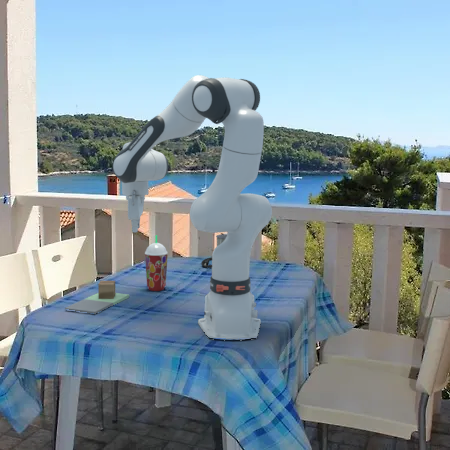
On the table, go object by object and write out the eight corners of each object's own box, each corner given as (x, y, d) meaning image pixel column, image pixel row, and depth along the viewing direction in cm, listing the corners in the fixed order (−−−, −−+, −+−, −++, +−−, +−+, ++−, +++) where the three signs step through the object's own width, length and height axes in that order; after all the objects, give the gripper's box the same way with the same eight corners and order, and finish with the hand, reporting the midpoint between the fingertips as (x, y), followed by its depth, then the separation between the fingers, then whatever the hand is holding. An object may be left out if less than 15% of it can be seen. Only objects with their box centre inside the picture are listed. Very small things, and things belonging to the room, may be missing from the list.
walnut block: (113, 298, 193) (113, 284, 192) (98, 298, 193) (98, 284, 192) (115, 294, 198) (115, 280, 197) (100, 294, 198) (100, 280, 197)
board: (95, 315, 178) (95, 311, 178) (65, 311, 182) (64, 308, 182) (129, 297, 199) (129, 294, 199) (101, 294, 203) (101, 291, 202)
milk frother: (236, 273, 238) (237, 238, 236) (199, 272, 239) (199, 237, 237) (237, 265, 253) (238, 232, 250) (202, 264, 253) (202, 231, 251)
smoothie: (172, 289, 211) (172, 235, 208) (154, 293, 205) (154, 238, 202) (157, 285, 216) (157, 232, 213) (140, 289, 210) (139, 235, 207)
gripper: (142, 191, 184) (143, 234, 186) (146, 187, 204) (146, 226, 206) (122, 191, 184) (123, 234, 185) (128, 187, 204) (129, 226, 206)
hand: (136, 230), depth 196 cm, fingers open, 8 cm apart
